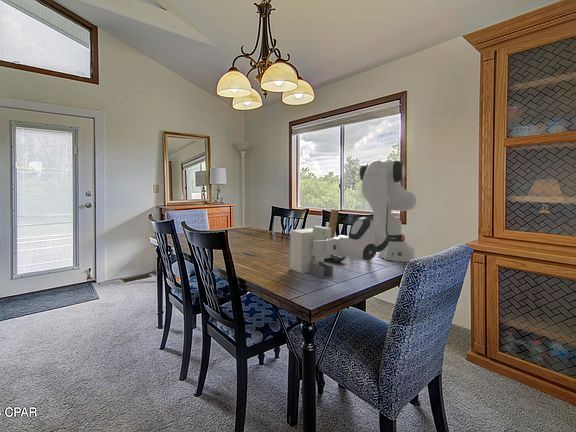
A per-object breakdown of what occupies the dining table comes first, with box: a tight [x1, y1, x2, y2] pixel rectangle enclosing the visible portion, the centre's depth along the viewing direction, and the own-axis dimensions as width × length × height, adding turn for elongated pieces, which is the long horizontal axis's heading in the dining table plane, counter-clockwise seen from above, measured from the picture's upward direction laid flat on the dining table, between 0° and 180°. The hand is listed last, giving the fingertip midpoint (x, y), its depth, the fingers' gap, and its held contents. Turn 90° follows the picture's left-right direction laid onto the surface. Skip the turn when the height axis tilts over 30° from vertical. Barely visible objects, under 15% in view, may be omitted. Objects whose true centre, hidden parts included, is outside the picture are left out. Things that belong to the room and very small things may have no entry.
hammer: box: [324, 209, 346, 264], centre depth 174 cm, size 20×5×30 cm, turn 46°
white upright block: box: [312, 225, 331, 259], centre depth 148 cm, size 10×4×14 cm, turn 33°
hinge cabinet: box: [289, 227, 334, 279], centre depth 154 cm, size 22×14×20 cm, turn 33°
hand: (323, 240), depth 147 cm, fingers closed on white upright block, 3 cm apart
